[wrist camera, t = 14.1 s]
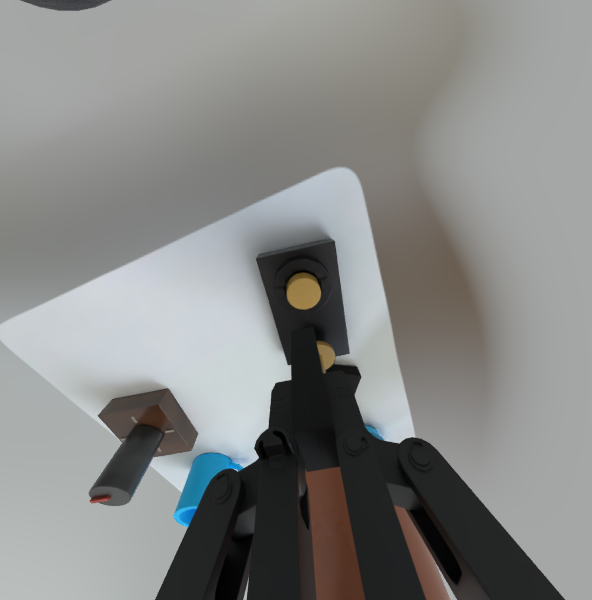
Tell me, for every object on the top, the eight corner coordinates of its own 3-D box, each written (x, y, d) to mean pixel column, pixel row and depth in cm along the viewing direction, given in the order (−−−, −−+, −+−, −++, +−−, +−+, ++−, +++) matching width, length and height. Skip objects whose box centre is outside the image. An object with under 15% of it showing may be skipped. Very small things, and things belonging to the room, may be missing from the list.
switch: (283, 275, 23) (283, 282, 21) (315, 268, 23) (318, 274, 21) (290, 304, 25) (290, 312, 23) (321, 298, 25) (323, 306, 23)
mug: (204, 478, 46) (187, 531, 38) (186, 457, 42) (164, 511, 35) (256, 468, 45) (250, 520, 37) (242, 445, 41) (232, 498, 34)
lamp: (279, 335, 26) (260, 641, 8) (344, 322, 26) (479, 617, 7) (293, 382, 29) (302, 671, 11) (350, 371, 29) (455, 656, 11)
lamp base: (258, 254, 26) (253, 262, 22) (331, 238, 25) (338, 244, 22) (288, 355, 32) (287, 374, 29) (345, 344, 32) (353, 362, 28)
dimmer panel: (112, 399, 35) (96, 416, 32) (168, 388, 34) (157, 405, 32) (148, 442, 40) (137, 461, 37) (198, 433, 40) (191, 451, 37)
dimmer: (153, 422, 33) (114, 486, 26) (168, 441, 35) (136, 505, 28) (124, 427, 34) (77, 492, 26) (141, 446, 36) (101, 511, 28)
